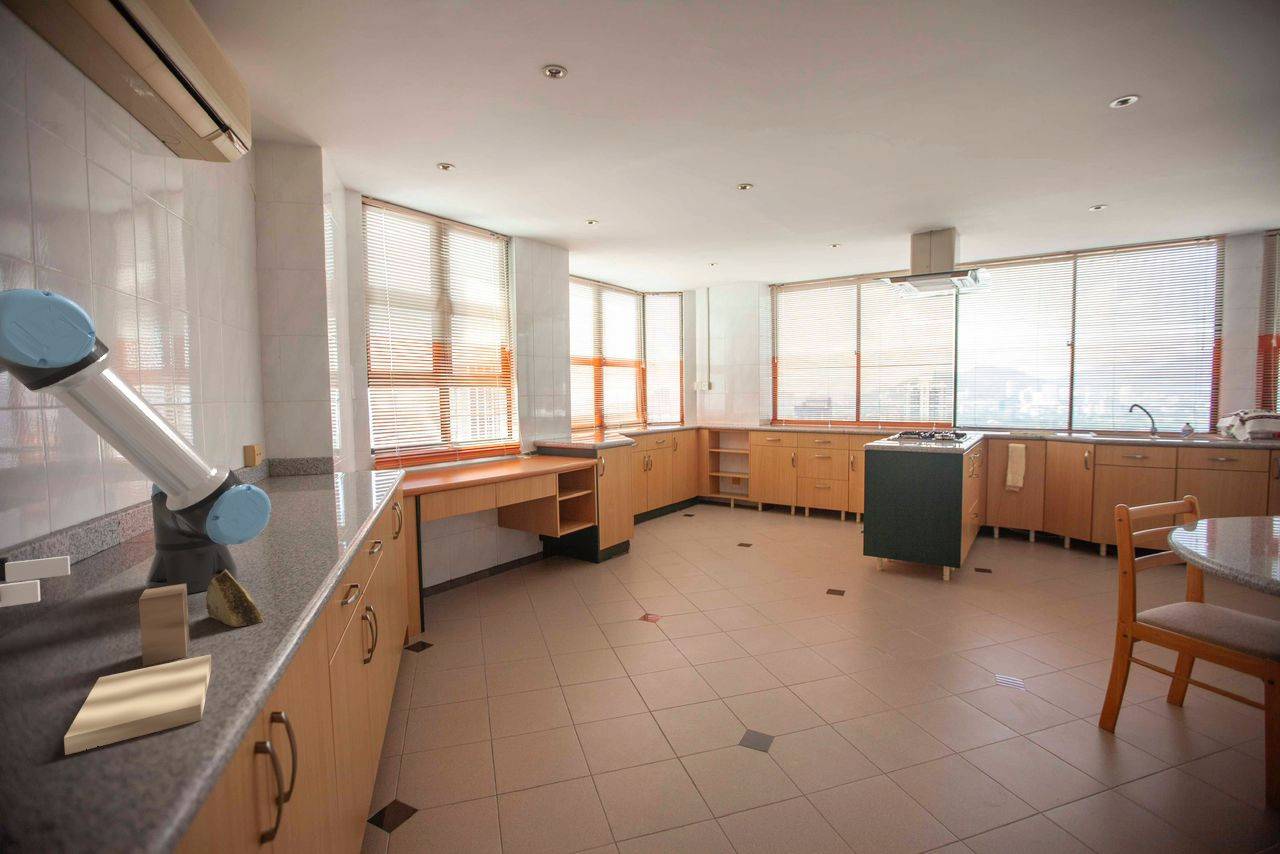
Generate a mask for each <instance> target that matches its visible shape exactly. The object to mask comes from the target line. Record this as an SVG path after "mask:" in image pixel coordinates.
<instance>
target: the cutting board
mask: <svg viewBox="0 0 1280 854" xmlns="http://www.w3.org/2000/svg"><path fill="white" fill-rule="evenodd" d="M212 668H213V667H212V654H211V653H210V654H205V655H202V656H201V655H200V656H196V657H191V658H187V659H182V660H177V661H173V662H169V663H167V662H166V663H163V664H159V665H157V664H156V665H153V666H148V667H143V668H140V669H139V668H138V669H134V670H129V671H124V672H120V673H115V674H110V675H105V676H100V677H98V679H97V680H96V683H95V684H94V685H93V687H92V689H91V691H90V692H89V694H88V696H87V698H86V700H85V701H84V703H83V704H82V706H81V708H80V710H79V711H78V713H77V715H76V716H75V718H74V720H73V721H72V723H71V725H70V727H69V729H68V730H67V732H66V734H65V735H64V737H63V742H64V743H63V745H64V755H65V756H66V755H67V756H68V755H72V754H74V753H75V754H76V753H80V752H83V751H86V749H87V750H91V749H94V748H98V747H97V746H99V747H102V746H106V745H110V744H114V743H117V742H122V741H126V740H130V739H133V738H137V737H142V736H144V735H145V736H146V735H148V734H152V733H157V732H160V731H161V732H162V731H164V730H168V729H169V730H170V729H172V728H175V727H176V728H177V727H180V726H184V725H188V724H192V723H196V722H199V721H202V719H203V713H204V708H205V705H206V697H207V692H208V689H209V683H210V679H211V678H210V676H211V672H212Z"/></svg>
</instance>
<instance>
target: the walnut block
mask: <svg viewBox="0 0 1280 854" xmlns="http://www.w3.org/2000/svg"><path fill="white" fill-rule="evenodd" d="M138 608H139V621H140V623H139V624H140V637H141V638H140V640H141V642H140V643H141V655H142V656H141V657H142V667H144V666H145V667H146V666H149V665H154V664H159V663H158V662H160V663H164V662H169V661H173V659H174V660H177V659H178V658H179V659H183V658H187V656H188V653H189V649H190V646H191V641H190V625H189V607H188V594H187V587H186V584H179V585H173V586H166V587H160V588H153V589H146V588H145V589H144V591H143V592H142V593H141V595H140V597H139V599H138ZM187 652H188V653H187ZM168 660H169V661H168ZM163 661H164V662H163Z"/></svg>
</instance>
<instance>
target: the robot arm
mask: <svg viewBox="0 0 1280 854" xmlns="http://www.w3.org/2000/svg"><path fill="white" fill-rule="evenodd" d="M110 358H111V349H110V348H108V347H107V346H106V345H105V343H104V342H102V340H101V339H99V337H98V336H97V335H96V326H95V324H94V322H93V320H92V318H91V317H90V315H89V314H88V312H86V310H85V309H83V308H82V306H80V305H79V304H78V303H76V302H75V301H73V300H71V299H70V298H68V297H66V296H63V295H61V294H58V293H57V292H56V293H55V292H53V291H47V290H43V289H34V288H33V289H32V288H12V289H4V290H2V291H0V374H3V373H5V372H8V373H9V374H10V375H11V376H12V377H14V379H16V380H17V381H18V382H20V383H21V384H22V385H23V386H24V387H25V388H27V389H28V390H29V391H30V392H31V393H39V394H48V395H52V396H53V397H55V398H56V399H57V400H58V401H59V402H60V403H61V404H62V405H64V406H65V407H66V408H67V409H68V410H69V411H71V412H72V413H73V414H74V415H75V416H76V417H78V418H79V420H81V421H82V422H83V423H84V424H85V425H87V426H88V427H89V428H90V429H91V430H92V431H93V432H95V433H96V434H97V435H98V436H99V437H100V438H101V439H103V440H104V442H106V443H107V444H108V445H109V446H111V447H112V449H114V450H116V451H117V452H118V454H120V455H121V456H122V457H123V458H124V459H125V460H127V461H128V462H129V463H130V464H131V465H133V466H134V467H135V469H137V470H138V471H139V472H140V473H142V474H143V475H144V476H145V477H146V478H147V479H149V480H150V481H151V482H152V485H151V495H150V499H151V506H152V518H153V521H152V522H153V534H154V537H153V538H154V546H155V547H154V549H155V550H154V551H155V553H154V556H153V559H152V562H151V565H150V568H149V570H148V574H147V577H146V579H145V587H146V588H145V590H146V589H153V588H160V587H166V586H173V585H179V584H186V587H187V595H188V594H195V593H199V592H200V593H201V592H203V591H204V592H205V591H207V589H208V587H209V585H210V582H211V580H212V579H213V578H215V577H216V576H218V575H220V574H221V573H222V572H223V571H224V570H225V569H226V570H227V571H228V572H229V573H230V574H231V576H232V577H233V578H234V579H235V580H237V578H238V564H237V563H236V561H235V559H234V557H233V555H232V553H231V551H230V549H229V547H228V545H231V546H232V545H233V546H234V545H242V544H246V543H248V542H250V541H252V540H253V539H255V538H256V537H257V536H258V535H260V533H262V532H263V531H264V529H265V528H266V526H267V524H268V522H269V521H270V518H271V511H272V504H271V500H270V498H269V496H268V494H267V493H266V492H265V491H264V490H263V489H261V488H260V487H258V486H255V485H253V484H250V483H249V484H247V483H245V482H244V481H243V479H241V478H240V476H238V475H237V474H236V473H235V472H233V470H231V468H229V466H227V464H214V463H212V462H211V461H210V460H209V459H207V457H206V456H204V454H202V453H201V452H200V451H199V450H198V448H197V447H196V446H195V445H194V444H193V443H191V442H190V441H189V440H188V439H187V438H186V437H185V435H183V433H181V432H180V431H179V430H178V429H177V428H176V427H175V426H174V425H173V424H171V422H170V421H169V420H167V419H166V418H165V416H164V415H162V413H160V412H159V411H158V409H156V407H154V406H153V405H152V404H151V403H150V402H149V401H148V400H147V399H146V398H145V397H144V396H143V395H142V394H141V393H140V392H139V391H138V390H137V389H136V388H135V387H134V386H133V385H132V384H131V383H130V382H129V381H127V379H125V377H124V376H123V375H121V374H120V372H118V371H117V369H115V368H114V367H113V366H112V365H111V363H110ZM8 560H9V557H7V556H5V557H3V556H2V557H0V582H5V583H4V584H3V583H2V584H0V608H3V607H5V608H6V607H11V606H18V605H25V604H32V603H39V602H40V601H41V586H40V585H41V583H40V579H44V578H51V577H52V578H53V577H61V576H62V577H63V576H69V575H70V574H71V562H70V560H71V558H70V555H67V556H66V555H64V556H55V557H47V558H39V559H36V558H35V559H27V560H19V561H11V562H10V561H8ZM20 581H21V582H20Z"/></svg>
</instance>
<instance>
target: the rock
mask: <svg viewBox="0 0 1280 854" xmlns="http://www.w3.org/2000/svg"><path fill="white" fill-rule="evenodd" d="M205 599H206V605H205V608H206V610H207V611H206V612H207V615H208V616H209V617H210V618H212V619H215V620H216V621H219V622H222V623H223V624H226V625H228V626H230V627H233V628H237V627H245V626H252V625H256V624H260V623H264V622H265V619H263V618H262V616H261V611H260V610H259V608H258V607H257V606H256V605H255V602H254V600H253V598H252V597H251V595H250V594H249V592H248V591H247V590H246V588H244V587H243V586H242V585H241V584H239V583H238V582H237V579H234V578H233V577H232V576H231V574H230V573H229V572H228V571H227V570H226V569H225V570H224V571H223V572H222V573H221V574H220V575H218V576H216V577H215V578H213V579H212V580H211V582H210V585H209V587H208V589H207V590H206V596H205Z"/></svg>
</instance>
